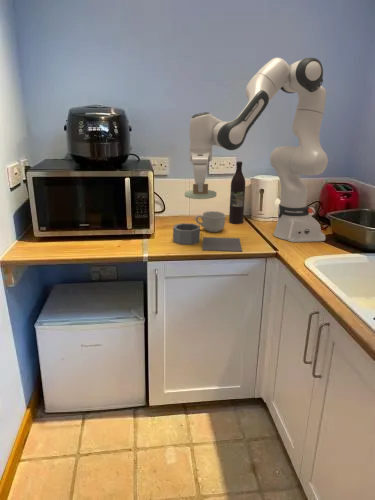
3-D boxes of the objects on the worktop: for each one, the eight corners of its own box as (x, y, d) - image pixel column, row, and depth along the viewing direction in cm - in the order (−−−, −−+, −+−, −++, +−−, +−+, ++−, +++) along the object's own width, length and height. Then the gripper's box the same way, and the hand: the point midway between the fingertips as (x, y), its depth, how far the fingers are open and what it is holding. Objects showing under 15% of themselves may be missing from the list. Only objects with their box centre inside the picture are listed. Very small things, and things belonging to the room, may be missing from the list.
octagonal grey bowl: (200, 236, 168) (200, 223, 166) (199, 245, 158) (199, 231, 156) (175, 235, 169) (175, 223, 167) (172, 244, 159) (172, 230, 156)
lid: (216, 192, 161) (216, 181, 159) (216, 199, 149) (216, 187, 147) (186, 191, 162) (185, 181, 160) (183, 199, 150) (183, 187, 148)
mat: (239, 239, 166) (239, 238, 166) (242, 251, 151) (242, 250, 151) (203, 237, 167) (203, 237, 167) (202, 250, 152) (202, 249, 152)
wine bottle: (226, 222, 191) (229, 161, 180) (234, 219, 196) (237, 160, 185) (238, 224, 187) (241, 163, 176) (245, 222, 192) (249, 161, 181)
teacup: (224, 227, 182) (225, 211, 180) (224, 234, 172) (225, 217, 169) (196, 226, 184) (196, 210, 181) (194, 233, 173) (194, 216, 171)
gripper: (194, 153, 159) (194, 185, 164) (191, 159, 140) (191, 196, 145) (209, 153, 159) (209, 185, 164) (208, 159, 140) (207, 196, 145)
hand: (200, 190), depth 154 cm, fingers closed on lid, 2 cm apart
